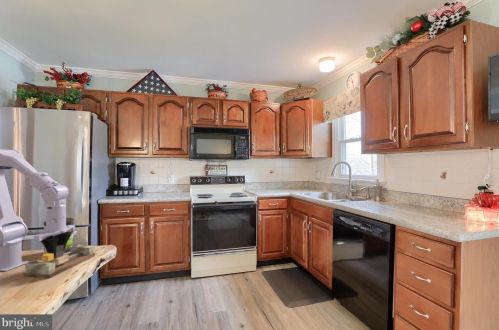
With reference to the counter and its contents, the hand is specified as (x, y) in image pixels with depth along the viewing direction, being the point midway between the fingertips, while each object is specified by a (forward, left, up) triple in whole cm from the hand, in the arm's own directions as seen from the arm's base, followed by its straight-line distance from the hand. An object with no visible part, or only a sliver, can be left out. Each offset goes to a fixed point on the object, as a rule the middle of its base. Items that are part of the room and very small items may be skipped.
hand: (56, 254), depth 90 cm
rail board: (0, +3, -5) cm, 6 cm away
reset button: (+3, -6, +1) cm, 7 cm away
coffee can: (-13, +14, -5) cm, 20 cm away
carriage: (0, 0, -3) cm, 3 cm away
